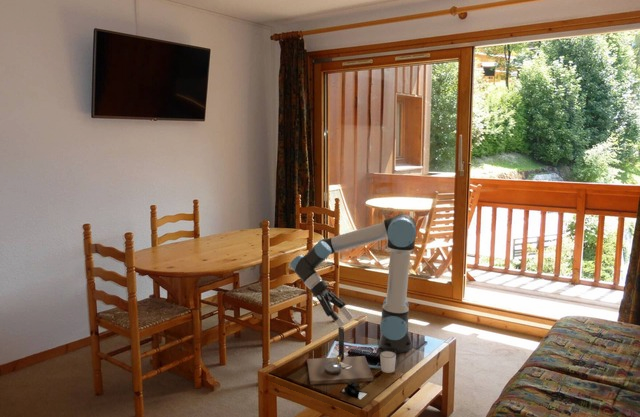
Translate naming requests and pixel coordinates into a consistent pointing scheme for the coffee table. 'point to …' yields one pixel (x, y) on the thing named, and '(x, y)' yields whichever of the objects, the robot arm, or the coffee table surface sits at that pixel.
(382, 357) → the shot glass
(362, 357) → the crank stand
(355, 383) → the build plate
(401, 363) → the coffee table surface
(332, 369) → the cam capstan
